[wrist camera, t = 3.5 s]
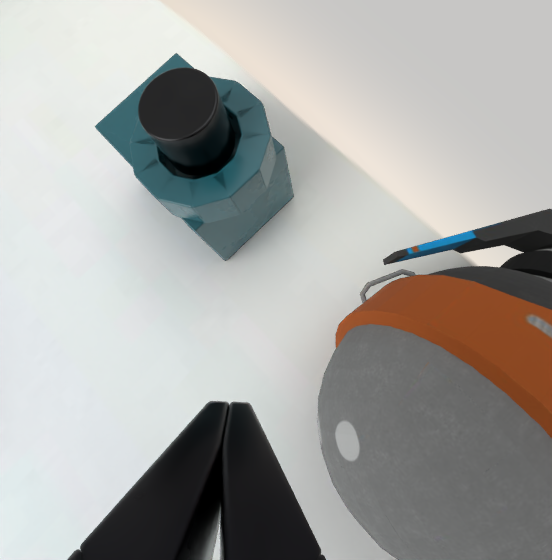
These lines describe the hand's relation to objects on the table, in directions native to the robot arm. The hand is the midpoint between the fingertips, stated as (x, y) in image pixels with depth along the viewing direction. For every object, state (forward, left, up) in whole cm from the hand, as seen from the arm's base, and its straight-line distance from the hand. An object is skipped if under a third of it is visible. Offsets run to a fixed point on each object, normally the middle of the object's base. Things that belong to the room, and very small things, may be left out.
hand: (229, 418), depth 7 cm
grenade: (-2, -4, -5) cm, 7 cm away
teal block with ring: (+9, +9, -12) cm, 17 cm away
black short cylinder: (+8, +7, -5) cm, 12 cm away
